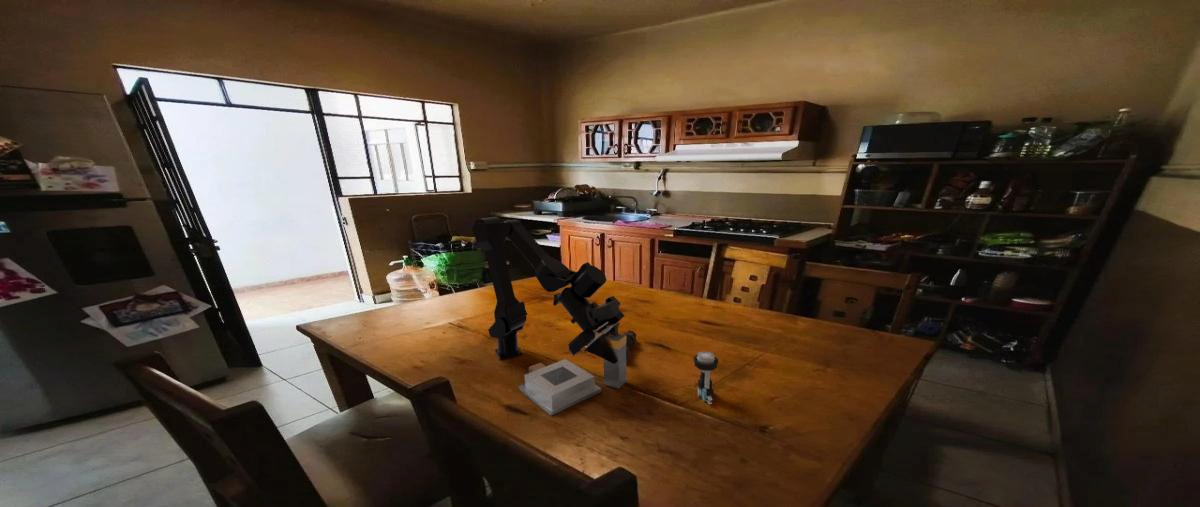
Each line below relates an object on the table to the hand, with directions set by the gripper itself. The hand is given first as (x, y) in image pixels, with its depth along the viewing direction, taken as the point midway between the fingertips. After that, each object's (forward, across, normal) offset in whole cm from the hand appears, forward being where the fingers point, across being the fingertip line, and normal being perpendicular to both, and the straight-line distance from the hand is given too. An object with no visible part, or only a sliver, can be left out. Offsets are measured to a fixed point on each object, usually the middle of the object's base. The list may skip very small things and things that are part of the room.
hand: (620, 359), depth 91 cm
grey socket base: (-5, -8, +14) cm, 17 cm away
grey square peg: (+4, 0, +6) cm, 7 cm away
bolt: (0, +17, +10) cm, 19 cm away
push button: (+19, +4, -9) cm, 21 cm away
